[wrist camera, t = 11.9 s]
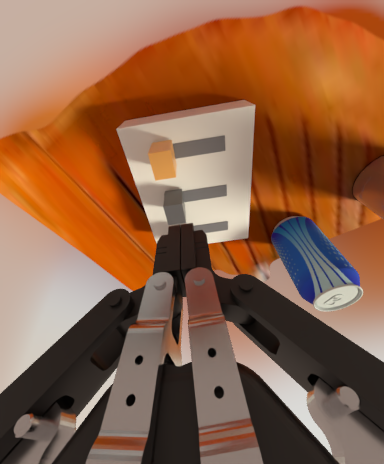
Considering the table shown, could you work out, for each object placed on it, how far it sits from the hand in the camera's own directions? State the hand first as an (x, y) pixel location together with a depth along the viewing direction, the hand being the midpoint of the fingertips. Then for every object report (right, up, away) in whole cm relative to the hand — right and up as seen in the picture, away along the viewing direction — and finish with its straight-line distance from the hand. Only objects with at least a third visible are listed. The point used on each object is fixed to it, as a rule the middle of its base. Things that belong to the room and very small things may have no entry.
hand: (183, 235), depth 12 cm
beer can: (+21, +1, +28) cm, 35 cm away
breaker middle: (-2, +5, +16) cm, 17 cm away
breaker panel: (+1, +9, +20) cm, 22 cm away
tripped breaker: (-3, +10, +12) cm, 16 cm away
